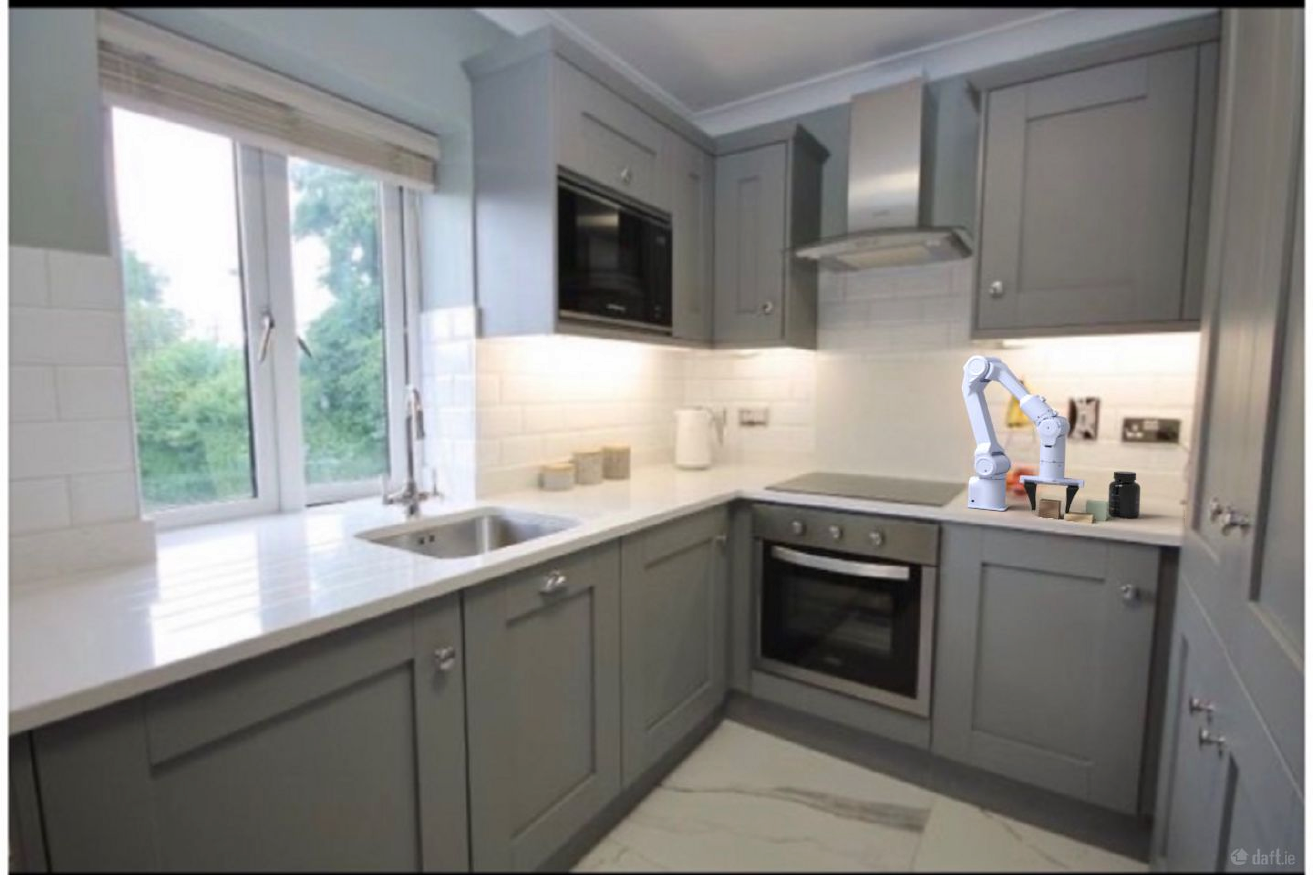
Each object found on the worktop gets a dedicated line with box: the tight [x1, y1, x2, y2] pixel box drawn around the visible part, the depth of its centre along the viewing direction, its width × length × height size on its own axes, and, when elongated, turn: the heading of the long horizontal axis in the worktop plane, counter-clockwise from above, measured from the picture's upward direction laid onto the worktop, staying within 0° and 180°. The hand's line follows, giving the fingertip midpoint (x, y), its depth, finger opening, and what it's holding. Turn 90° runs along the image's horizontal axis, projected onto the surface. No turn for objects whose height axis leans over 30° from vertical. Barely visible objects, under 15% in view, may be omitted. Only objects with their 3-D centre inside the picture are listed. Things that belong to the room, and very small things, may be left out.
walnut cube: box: [1038, 498, 1062, 520], centre depth 169 cm, size 4×4×4 cm
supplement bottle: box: [1107, 471, 1141, 520], centre depth 169 cm, size 7×7×12 cm
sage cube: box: [1085, 499, 1109, 522], centre depth 167 cm, size 4×4×4 cm
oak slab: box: [1063, 510, 1094, 525], centre depth 165 cm, size 6×6×2 cm
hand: (1050, 511), depth 169 cm, fingers open, 7 cm apart
